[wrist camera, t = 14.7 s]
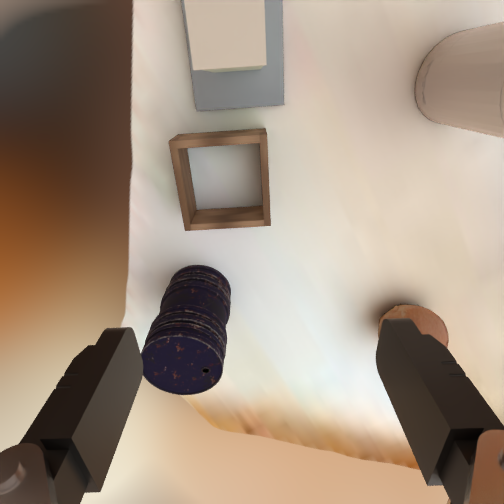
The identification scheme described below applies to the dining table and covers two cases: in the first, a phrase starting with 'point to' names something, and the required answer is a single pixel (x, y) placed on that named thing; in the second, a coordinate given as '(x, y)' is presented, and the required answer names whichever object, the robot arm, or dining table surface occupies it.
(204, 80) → the blue-grey square panel
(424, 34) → the dining table surface
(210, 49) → the tea tin
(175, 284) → the dark blue cylinder
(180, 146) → the crate
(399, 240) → the dining table surface
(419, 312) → the onion
